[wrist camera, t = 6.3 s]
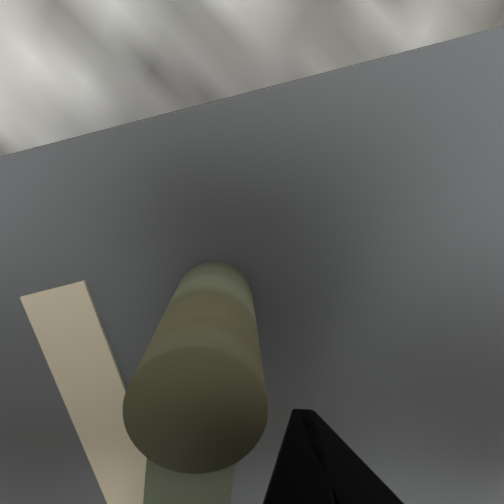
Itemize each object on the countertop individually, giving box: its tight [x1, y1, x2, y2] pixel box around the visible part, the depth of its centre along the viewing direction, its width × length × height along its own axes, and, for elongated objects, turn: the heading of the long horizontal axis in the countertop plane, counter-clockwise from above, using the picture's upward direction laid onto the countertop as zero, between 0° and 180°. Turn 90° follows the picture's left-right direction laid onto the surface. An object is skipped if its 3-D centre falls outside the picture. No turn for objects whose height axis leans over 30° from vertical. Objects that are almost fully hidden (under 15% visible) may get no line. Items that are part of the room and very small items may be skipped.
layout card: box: [0, 26, 504, 504], centre depth 10 cm, size 25×19×1 cm
